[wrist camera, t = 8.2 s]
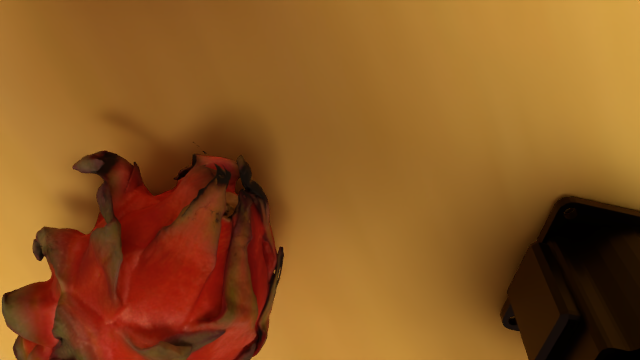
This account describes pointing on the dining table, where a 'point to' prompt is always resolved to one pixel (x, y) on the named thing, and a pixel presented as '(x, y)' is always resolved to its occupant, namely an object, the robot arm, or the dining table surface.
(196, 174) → the dragon fruit
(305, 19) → the dining table surface
